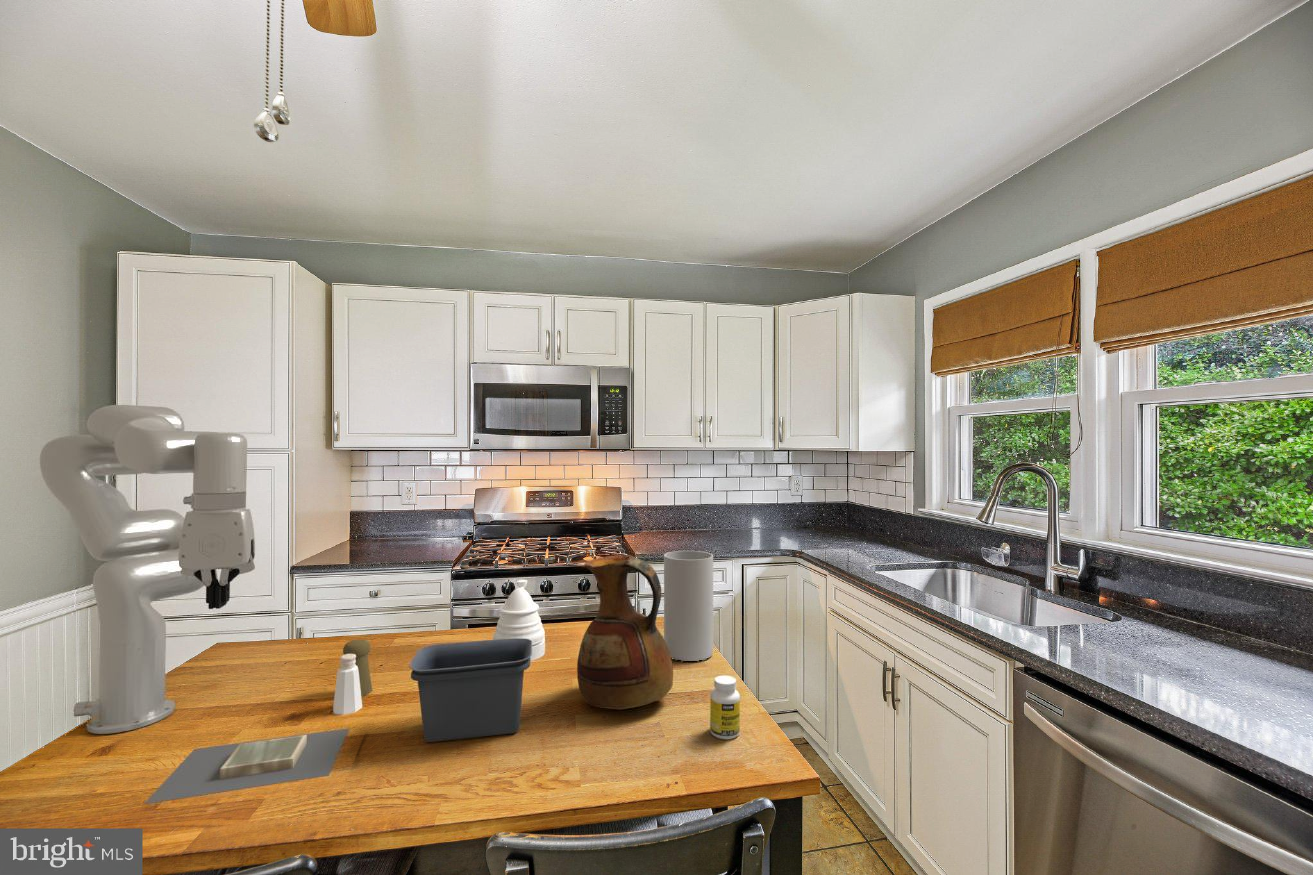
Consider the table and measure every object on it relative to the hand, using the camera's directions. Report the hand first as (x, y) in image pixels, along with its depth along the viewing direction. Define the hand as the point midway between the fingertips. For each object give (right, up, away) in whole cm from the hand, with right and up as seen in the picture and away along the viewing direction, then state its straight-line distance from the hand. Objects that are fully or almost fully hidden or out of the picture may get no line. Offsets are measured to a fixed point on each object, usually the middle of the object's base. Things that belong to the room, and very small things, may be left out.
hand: (217, 606), depth 101 cm
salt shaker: (+16, -25, +13) cm, 32 cm away
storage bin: (+43, -25, +7) cm, 50 cm away
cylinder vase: (+86, -25, +45) cm, 100 cm away
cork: (+13, -25, +22) cm, 36 cm away
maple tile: (+8, -23, -7) cm, 25 cm away
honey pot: (+42, -25, +45) cm, 67 cm away
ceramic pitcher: (+71, -25, +18) cm, 77 cm away
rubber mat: (+11, -24, -6) cm, 28 cm away
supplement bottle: (+90, -25, +4) cm, 93 cm away
